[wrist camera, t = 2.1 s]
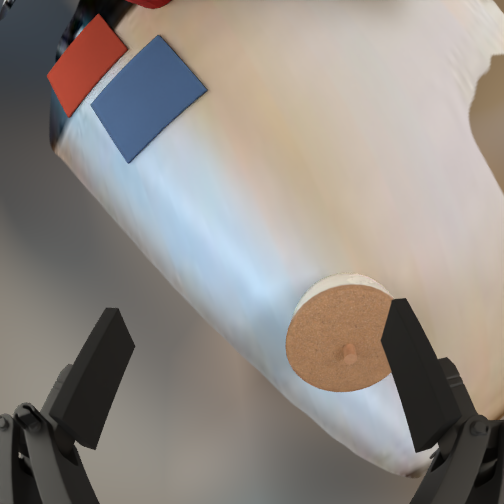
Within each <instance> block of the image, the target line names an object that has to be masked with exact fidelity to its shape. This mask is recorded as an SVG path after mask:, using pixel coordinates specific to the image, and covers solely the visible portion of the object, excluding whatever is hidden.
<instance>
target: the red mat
mask: <svg viewBox="0 0 504 504" xmlns="http://www.w3.org/2000/svg"><path fill="white" fill-rule="evenodd" d="M127 50H128V49H127V48H126V46H125V45H124V44H123V43H122V41H121V40H120V39H119V38H118V36H117V35H116V34H115V33H114V31H113V30H112V29H111V28H110V26H109V25H108V24H107V23H106V22H105V20H104V19H103V18H102V17H101V16H100V14H97V15H96V16H95V17H94V19H93V20H92V21H91V22H90V23H89V24H88V25H87V26H86V27H85V28H84V29H83V31H82V32H81V33H80V34H79V35H78V36H77V37H76V39H75V40H74V41H73V42H72V43H71V45H70V46H69V47H68V48H67V50H66V51H65V52H64V53H63V55H62V56H61V57H60V59H59V60H58V61H57V63H56V64H55V65H54V67H53V68H52V70H51V71H50V72H49V74H48V75H47V77H48V79H49V81H50V83H51V85H52V87H53V89H54V91H55V93H56V95H57V97H58V99H59V101H60V103H61V105H62V107H63V109H64V111H65V112H66V114H67V116H68V117H69V118H70V117H71V115H72V114H73V112H74V111H75V110H76V108H77V107H78V106H79V105H80V103H81V102H82V101H83V99H84V98H85V97H86V96H87V95H88V93H89V92H90V91H91V90H92V88H93V87H94V86H95V85H96V84H97V83H98V81H99V80H100V79H101V78H102V77H103V76H104V75H105V73H106V72H107V71H108V70H109V69H110V68H111V67H112V66H113V65H114V64H115V63H116V62H117V60H118V59H119V58H120V57H121V56H122V55H123V54H124V53H125V52H126V51H127Z"/></svg>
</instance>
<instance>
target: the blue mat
mask: <svg viewBox="0 0 504 504" xmlns="http://www.w3.org/2000/svg"><path fill="white" fill-rule="evenodd" d="M206 91H207V89H206V88H205V87H204V86H203V84H202V83H201V82H200V81H199V80H198V78H197V77H196V76H195V75H194V74H193V73H192V71H191V70H190V69H189V68H188V67H187V66H186V65H185V63H184V62H183V61H182V60H181V59H180V58H179V57H178V55H177V54H176V53H175V52H174V51H173V50H172V49H171V48H170V46H169V45H168V44H167V43H166V42H165V41H164V40H163V39H162V38H161V37H160V36H159V35H157V36H156V37H155V38H154V39H153V40H152V41H151V42H150V43H149V44H147V45H146V46H145V47H144V48H143V49H142V50H141V51H140V52H139V53H138V54H137V55H136V56H135V57H134V58H133V59H132V60H131V61H130V62H129V63H128V64H127V65H126V66H125V67H124V68H123V69H122V70H121V71H120V72H119V73H118V74H117V75H116V76H115V77H114V78H113V80H112V81H111V82H110V83H109V84H108V85H107V86H106V87H105V88H104V90H103V91H102V92H101V93H100V94H99V95H98V97H97V98H96V99H95V100H94V101H93V103H92V104H91V106H92V108H93V110H94V111H95V113H96V115H97V116H98V118H99V119H100V121H101V123H102V124H103V126H104V127H105V129H106V131H107V132H108V134H109V135H110V137H111V138H112V140H113V142H114V143H115V145H116V146H117V148H118V149H119V151H120V152H121V154H122V155H123V157H124V158H125V160H126V161H127V163H130V162H131V161H132V160H133V159H134V158H135V157H136V156H137V155H138V154H139V153H140V151H141V150H142V149H143V148H144V147H145V146H146V145H147V144H148V143H149V142H150V141H151V140H153V139H154V138H155V137H156V136H157V135H158V134H159V133H160V132H161V131H162V130H163V129H164V128H165V127H166V126H167V125H168V124H169V123H170V122H172V121H173V120H174V119H175V118H176V117H177V116H178V115H179V114H180V113H182V112H183V111H184V110H185V109H186V108H187V107H188V106H190V105H191V104H192V103H193V102H194V101H195V100H197V99H198V98H199V97H200V96H201V95H203V94H204V93H205V92H206Z"/></svg>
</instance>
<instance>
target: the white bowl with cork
mask: <svg viewBox="0 0 504 504" xmlns="http://www.w3.org/2000/svg"><path fill="white" fill-rule="evenodd" d="M392 300H394V298H393V297H392V295H391V294H390V293H389V292H388V291H387V289H386V288H384V287H383V286H382V285H381V284H380V283H378V282H377V281H375V280H373V279H371V278H370V277H367V276H365V275H362V274H356V273H340V274H335V275H331V276H328V277H326V278H324V279H322V280H320V281H318V282H317V283H315V284H314V285H313V286H311V287H310V288H309V289H308V290H307V291H306V293H305V294H304V295H303V296H302V298H301V299H300V301H299V302H298V304H297V306H296V308H295V311H294V313H293V315H292V319H291V323H290V325H289V328H288V332H287V336H286V355H287V358H288V361H289V363H290V365H291V367H292V369H293V370H294V371H295V372H296V374H297V375H298V376H299V377H300V378H302V379H303V380H304V381H305V382H307V383H309V384H310V385H312V386H315V387H317V388H319V389H323V390H327V391H333V392H350V391H356V390H360V389H363V388H366V387H369V386H371V385H373V384H375V383H377V382H379V381H381V380H382V379H384V378H385V377H386V376H387V375H389V374H390V373H391V369H390V366H389V363H388V360H387V357H386V355H385V352H384V349H383V346H382V344H381V341H380V340H381V337H382V334H383V330H384V327H385V323H386V320H387V316H388V313H389V309H390V305H391V301H392Z"/></svg>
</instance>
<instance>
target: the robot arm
mask: <svg viewBox="0 0 504 504" xmlns="http://www.w3.org/2000/svg"><path fill="white" fill-rule="evenodd" d="M380 341H381V344H382V346H383V349H384V352H385V355H386V357H387V360H388V363H389V366H390V369H391V372H392V375H393V378H394V381H395V384H396V387H397V390H398V393H399V396H400V399H401V402H402V406H403V409H404V412H405V416H406V419H407V423H408V426H409V430H410V433H411V437H412V441H413V444H414V448H415V452H416V453H417V452H421V451H424V450H427V449H430V448H432V447H433V446H434V445H435V444H436V443H437V442H438V445H439V448H438V449H437V450H436V451H435V452H434V453H433V454H432V455H431V457H430V459H432V458H433V457H434V459H433V461H432V463H431V465H430V467H429V469H428V471H427V473H426V475H425V477H424V479H423V481H422V482H421V484H420V486H419V488H418V490H417V491H416V493H415V495H414V497H413V498H412V500H411V502H410V504H504V420H492V421H491V420H488V419H487V418H486V417H484V416H483V415H478V413H477V412H476V410H475V408H474V405H473V403H472V401H471V398H470V396H469V394H468V392H467V389H466V387H465V385H464V384H463V381H462V379H461V377H460V376H459V375H460V374H459V372H458V370H457V368H456V366H455V365H454V364H453V363H452V362H451V361H450V360H449V359H448V358H447V357H446V358H442V359H437V357H436V354H435V352H434V350H433V348H432V346H431V344H430V342H429V340H428V338H427V336H426V334H425V332H424V331H423V329H422V327H421V325H420V323H419V321H418V319H417V317H416V315H415V314H414V312H413V310H412V308H411V306H410V305H409V303H408V301H407V299H406V298H403V299H394V300H392V301H391V305H390V309H389V313H388V316H387V320H386V323H385V327H384V330H383V334H382V337H381V340H380ZM134 348H135V345H134V342H133V340H132V338H131V336H130V334H129V332H128V329H127V327H126V325H125V323H124V321H123V318H122V316H121V313H120V311H119V309H118V308H106V309H105V310H104V312H103V314H102V315H101V317H100V318H99V320H98V322H97V323H96V325H95V327H94V328H93V330H92V332H91V334H90V335H89V337H88V339H87V341H86V342H85V344H84V346H83V348H82V349H81V351H80V353H79V355H78V357H77V358H76V360H75V362H74V364H73V365H71V364H68V365H67V366H66V367H65V368H64V369H63V370H62V371H61V372H60V374H59V376H58V378H57V381H56V382H55V384H54V386H53V388H52V389H51V391H50V394H49V395H48V397H47V399H46V401H45V403H44V405H43V407H42V409H41V411H40V412H38V410H37V409H36V408H35V407H34V406H33V405H31V404H30V403H22V404H21V405H19V406H18V407H17V408H16V409H15V412H14V414H13V418H12V417H11V416H10V415H9V414H2V415H0V504H100V503H99V502H98V499H97V497H96V495H95V493H94V491H93V489H92V486H91V484H90V482H89V479H88V477H87V474H86V472H85V470H84V467H83V464H82V462H81V459H80V456H79V454H78V451H77V448H76V447H75V445H74V442H75V440H76V441H77V442H78V443H79V444H81V445H82V446H84V447H87V448H91V449H94V450H96V447H97V444H98V441H99V438H100V435H101V432H102V430H103V427H104V424H105V421H106V418H107V416H108V413H109V410H110V408H111V405H112V402H113V400H114V397H115V394H116V392H117V389H118V387H119V384H120V382H121V379H122V377H123V374H124V372H125V369H126V367H127V365H128V362H129V360H130V357H131V355H132V353H133V350H134ZM19 452H20V453H21V458H19V457H18V456H19Z"/></svg>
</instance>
